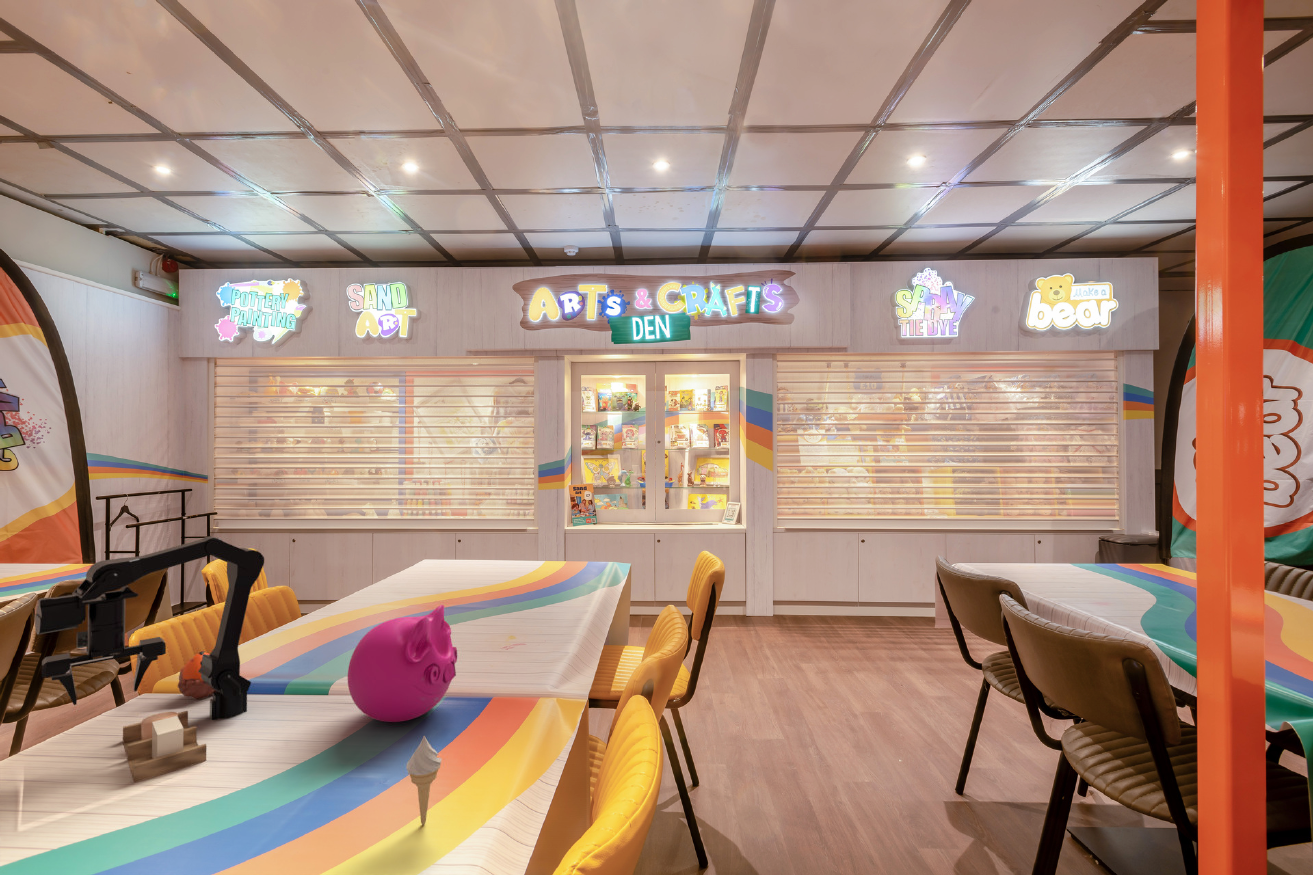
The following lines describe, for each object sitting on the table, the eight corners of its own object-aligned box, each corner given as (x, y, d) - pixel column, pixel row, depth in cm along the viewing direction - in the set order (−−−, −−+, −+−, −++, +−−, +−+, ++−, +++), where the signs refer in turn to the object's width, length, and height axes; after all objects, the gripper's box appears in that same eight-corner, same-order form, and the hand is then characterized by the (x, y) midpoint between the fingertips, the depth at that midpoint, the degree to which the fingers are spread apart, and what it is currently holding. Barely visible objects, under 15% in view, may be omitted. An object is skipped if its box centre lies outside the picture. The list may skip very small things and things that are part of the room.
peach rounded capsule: (175, 731, 132) (175, 709, 133) (179, 741, 128) (179, 717, 128) (139, 741, 128) (139, 717, 128) (142, 751, 124) (143, 727, 124)
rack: (187, 727, 136) (187, 710, 136) (206, 764, 120) (206, 745, 120) (122, 744, 128) (122, 726, 128) (134, 786, 112) (134, 766, 112)
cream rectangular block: (176, 749, 125) (177, 715, 125) (183, 763, 119) (183, 727, 119) (151, 756, 122) (152, 721, 122) (157, 770, 116) (157, 734, 116)
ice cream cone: (412, 815, 103) (412, 728, 104) (445, 813, 104) (445, 726, 104) (401, 836, 98) (401, 744, 98) (436, 834, 98) (436, 742, 99)
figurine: (436, 740, 130) (436, 625, 130) (326, 740, 130) (327, 625, 131) (471, 696, 153) (471, 598, 153) (378, 695, 154) (379, 598, 154)
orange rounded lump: (190, 689, 158) (191, 646, 158) (236, 684, 161) (237, 642, 161) (168, 708, 146) (169, 661, 146) (219, 702, 149) (219, 657, 150)
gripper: (159, 606, 137) (158, 674, 136) (42, 623, 123) (41, 699, 123) (166, 615, 129) (165, 688, 129) (42, 635, 115) (41, 716, 115)
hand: (105, 697), depth 124 cm, fingers open, 9 cm apart
